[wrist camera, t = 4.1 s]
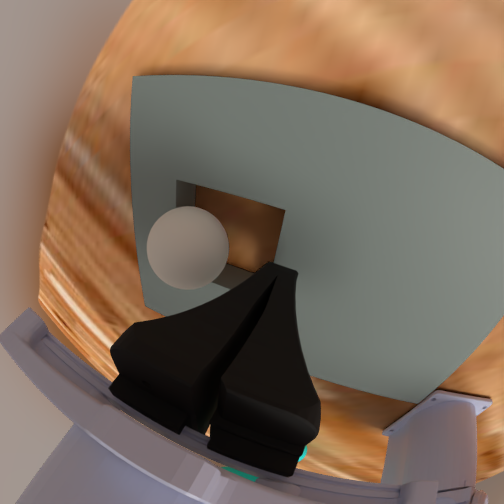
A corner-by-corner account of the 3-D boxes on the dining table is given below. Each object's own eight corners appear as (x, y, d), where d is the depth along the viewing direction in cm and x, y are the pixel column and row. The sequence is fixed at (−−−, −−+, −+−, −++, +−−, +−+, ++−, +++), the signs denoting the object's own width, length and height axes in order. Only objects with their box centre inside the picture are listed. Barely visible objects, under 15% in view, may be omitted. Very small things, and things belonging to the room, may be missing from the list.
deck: (417, 382, 17) (417, 403, 15) (159, 290, 21) (145, 306, 20) (542, 197, 7) (561, 212, 6) (157, 75, 12) (132, 76, 11)
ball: (155, 255, 15) (222, 253, 16) (148, 307, 12) (231, 305, 13) (148, 193, 13) (226, 191, 14) (135, 239, 10) (237, 237, 11)
